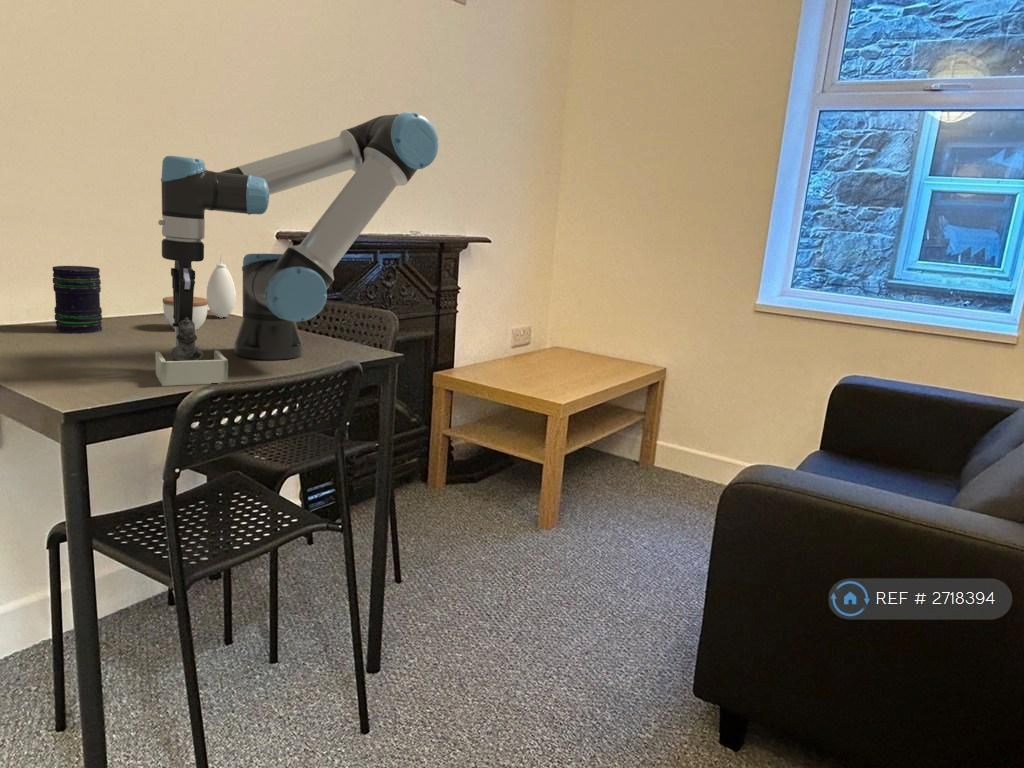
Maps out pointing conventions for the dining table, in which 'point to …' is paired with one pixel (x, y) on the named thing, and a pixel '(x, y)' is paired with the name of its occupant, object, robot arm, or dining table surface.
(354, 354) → the dining table surface
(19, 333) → the dining table surface
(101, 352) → the dining table surface
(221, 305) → the white elongated ovoid
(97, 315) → the storage jar
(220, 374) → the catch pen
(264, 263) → the robot arm
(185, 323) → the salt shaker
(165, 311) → the lidded jar
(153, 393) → the dining table surface
